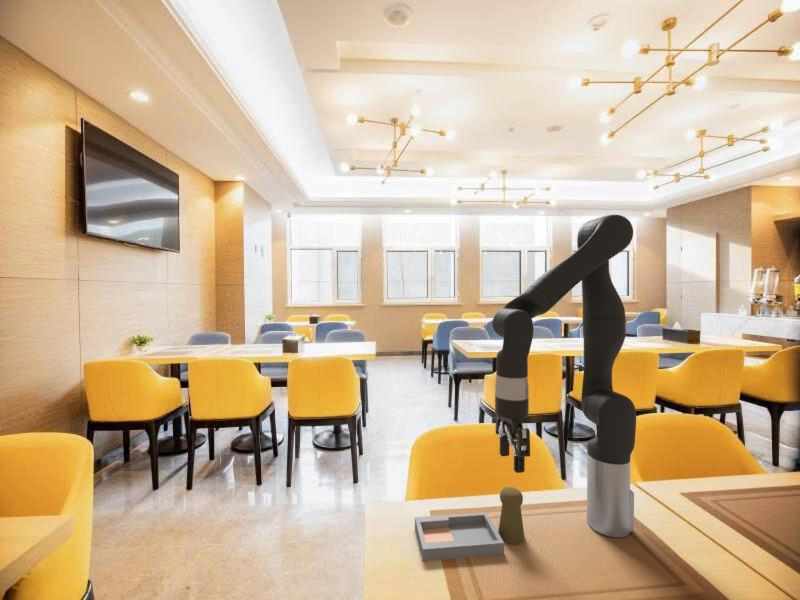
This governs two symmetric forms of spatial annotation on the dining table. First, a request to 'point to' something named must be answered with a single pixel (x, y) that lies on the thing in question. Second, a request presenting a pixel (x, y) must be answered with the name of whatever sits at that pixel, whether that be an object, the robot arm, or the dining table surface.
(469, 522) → the grey shallow tray
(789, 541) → the dining table surface
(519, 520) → the olive pawn piece
